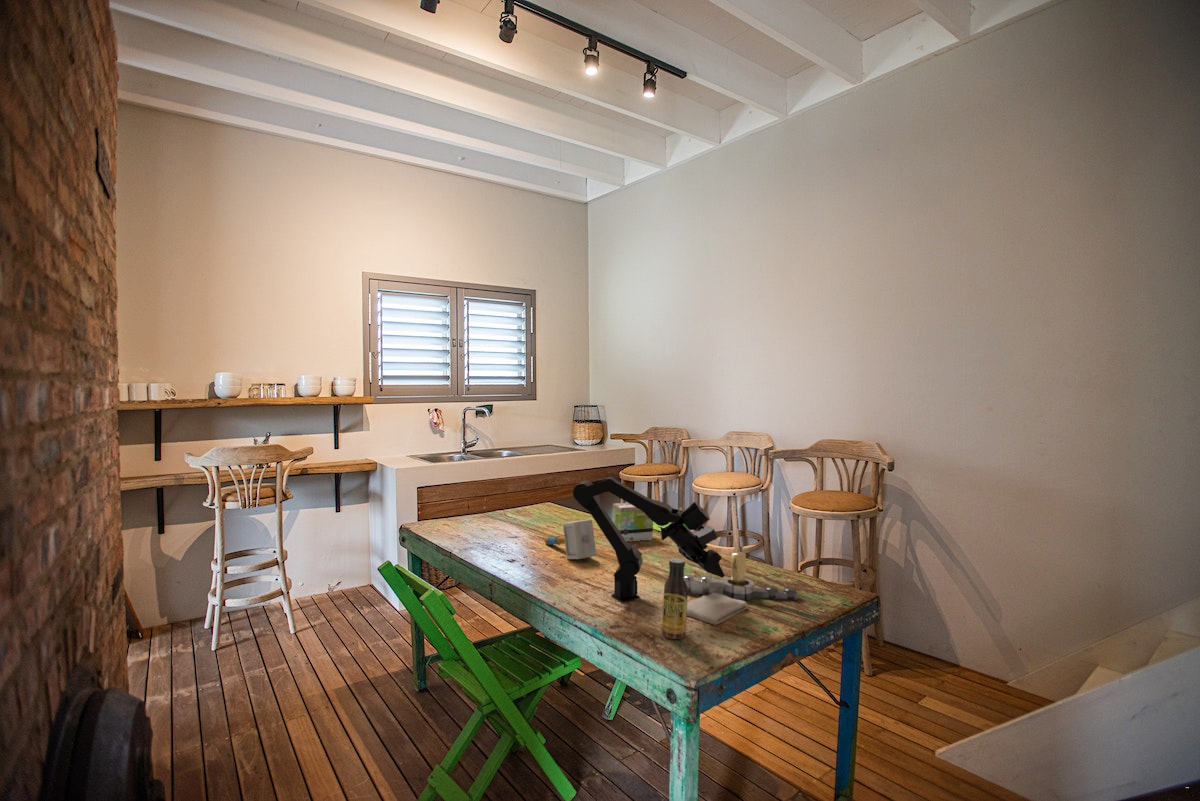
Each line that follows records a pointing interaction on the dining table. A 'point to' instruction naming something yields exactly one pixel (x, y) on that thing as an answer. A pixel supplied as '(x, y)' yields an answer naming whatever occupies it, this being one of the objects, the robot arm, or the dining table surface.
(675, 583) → the sauce bottle
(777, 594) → the chain joint
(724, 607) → the washcloth
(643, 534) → the tea box
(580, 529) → the hammer
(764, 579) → the dining table surface
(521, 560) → the dining table surface
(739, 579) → the brass pin
